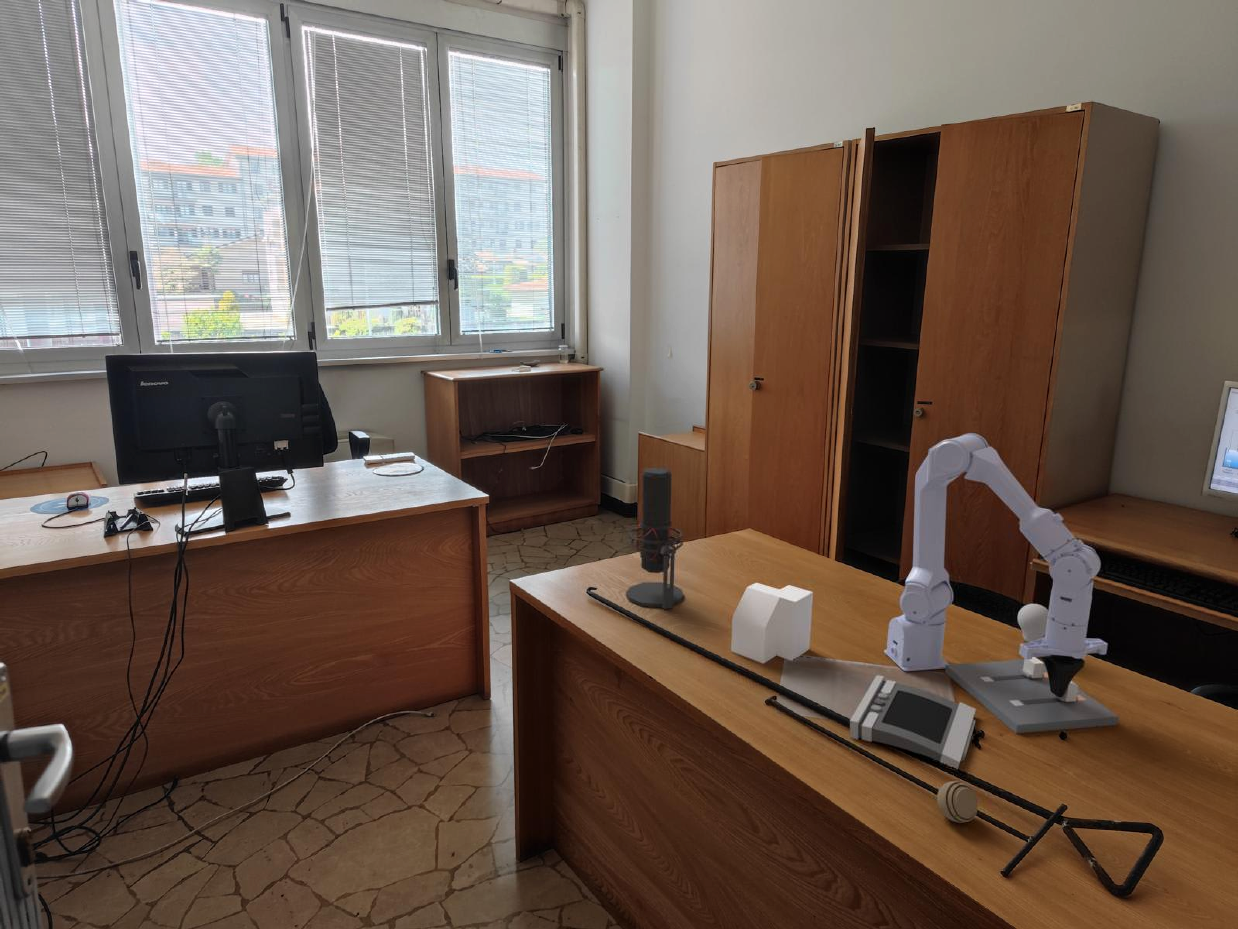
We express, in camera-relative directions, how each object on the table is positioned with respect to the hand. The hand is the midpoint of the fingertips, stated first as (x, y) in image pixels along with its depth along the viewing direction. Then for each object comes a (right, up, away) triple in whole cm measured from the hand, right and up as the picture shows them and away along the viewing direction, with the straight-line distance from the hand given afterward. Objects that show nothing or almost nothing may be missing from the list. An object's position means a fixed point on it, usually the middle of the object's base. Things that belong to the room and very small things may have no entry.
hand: (1056, 694), depth 126 cm
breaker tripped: (+2, -1, 0) cm, 2 cm away
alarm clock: (-26, -4, -5) cm, 27 cm away
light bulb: (+7, +2, +20) cm, 21 cm away
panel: (-3, -2, +4) cm, 5 cm away
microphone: (-65, +8, +47) cm, 80 cm away
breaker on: (0, +1, +8) cm, 8 cm away
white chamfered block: (-44, +2, +21) cm, 49 cm away
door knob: (-29, -9, -26) cm, 40 cm away
